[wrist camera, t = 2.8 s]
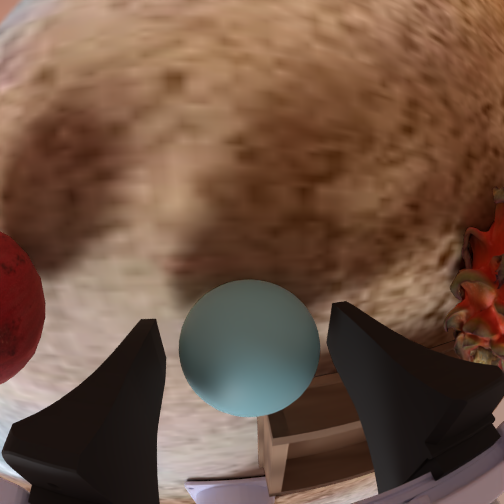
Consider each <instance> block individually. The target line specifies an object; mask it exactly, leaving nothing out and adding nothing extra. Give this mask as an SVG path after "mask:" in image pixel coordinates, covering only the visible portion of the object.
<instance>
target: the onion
mask: <svg viewBox="0 0 504 504" xmlns="http://www.w3.org/2000/svg"><path fill="white" fill-rule="evenodd" d="M44 320H45V298H44V293H43V288H42V282H41V278H40V276H39V274H38V273H37V271H36V269H35V267H34V265H33V263H32V262H31V260H30V258H29V256H28V254H27V253H26V252H25V251H24V250H23V249H22V248H21V247H20V246H19V245H18V244H17V243H16V242H15V241H14V240H13V239H12V238H11V237H9V236H8V235H6V234H4V233H2V232H0V384H2V383H4V382H6V381H7V380H9V379H10V378H12V377H13V376H15V375H16V374H17V373H18V372H19V371H20V370H21V369H22V368H23V367H24V366H25V365H26V364H27V362H28V361H29V360H30V359H31V358H32V356H33V355H34V354H35V351H36V348H37V346H38V343H39V341H40V338H41V334H42V329H43V325H44Z"/></svg>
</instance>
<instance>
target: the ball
mask: <svg viewBox="0 0 504 504" xmlns="http://www.w3.org/2000/svg"><path fill="white" fill-rule="evenodd" d="M179 357H180V363H181V367H182V370H183V373H184V375H185V377H186V379H187V381H188V383H189V384H190V386H191V387H192V389H193V390H194V391H195V393H196V394H197V395H198V396H199V397H200V398H201V399H203V400H204V401H205V402H206V403H208V404H209V405H211V406H212V407H214V408H215V409H217V410H219V411H222V412H224V413H227V414H231V415H235V416H240V417H258V416H264V415H268V414H272V413H275V412H277V411H280V410H282V409H284V408H285V407H287V406H289V405H290V404H291V403H293V402H294V401H295V400H297V399H298V398H299V397H300V396H301V395H302V394H303V392H304V391H305V390H306V389H307V387H308V386H309V385H310V383H311V381H312V379H313V377H314V375H315V373H316V370H317V366H318V362H319V357H320V340H319V334H318V330H317V327H316V324H315V322H314V319H313V317H312V316H311V314H310V312H309V311H308V309H307V308H306V307H305V305H304V304H303V303H302V302H301V301H300V300H299V299H298V298H297V297H296V296H295V295H294V294H292V293H291V292H289V291H288V290H286V289H284V288H282V287H280V286H278V285H276V284H273V283H270V282H266V281H261V280H252V279H249V280H237V281H232V282H229V283H226V284H223V285H220V286H218V287H217V288H215V289H213V290H211V291H210V292H208V293H207V294H205V295H204V296H203V297H202V298H201V299H200V300H198V302H197V303H196V304H195V305H194V306H193V308H192V309H191V310H190V312H189V314H188V315H187V317H186V319H185V321H184V324H183V326H182V330H181V334H180V339H179Z"/></svg>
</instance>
